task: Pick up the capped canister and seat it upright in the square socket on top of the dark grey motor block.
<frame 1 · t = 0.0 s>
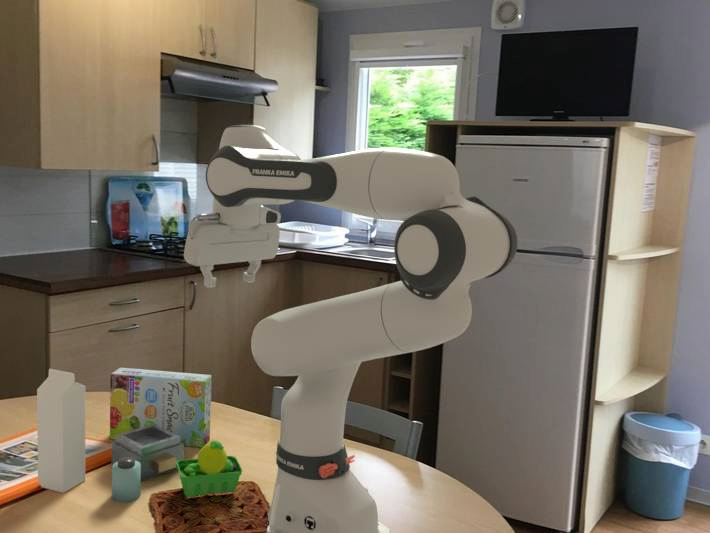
hand: (229, 284, 140), 39 cm above the table, tool pointing down, fingers open, 8 cm apart
capped canister: (126, 496, 137), on the table
milk: (61, 484, 140), on the table
fruit basket: (208, 493, 140), on the table
snack box: (160, 440, 163), on the table
motor block: (147, 466, 149), on the table
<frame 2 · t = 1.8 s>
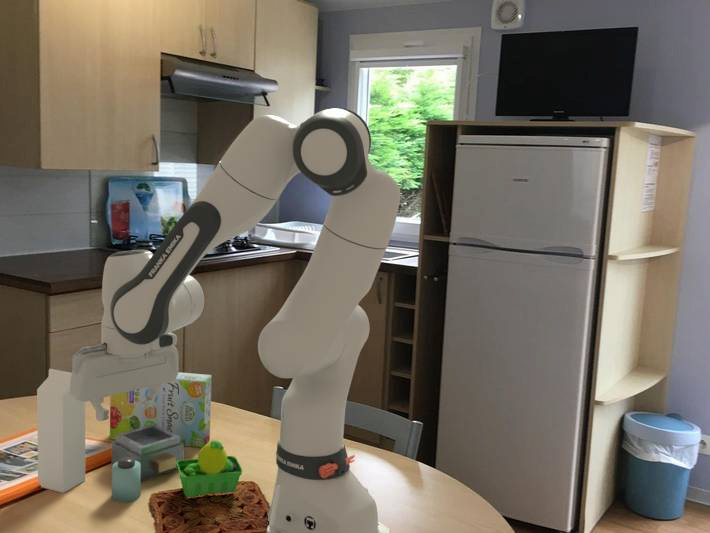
hand: (125, 413, 134), 16 cm above the table, tool pointing down, fingers open, 8 cm apart
nothing on the table moved.
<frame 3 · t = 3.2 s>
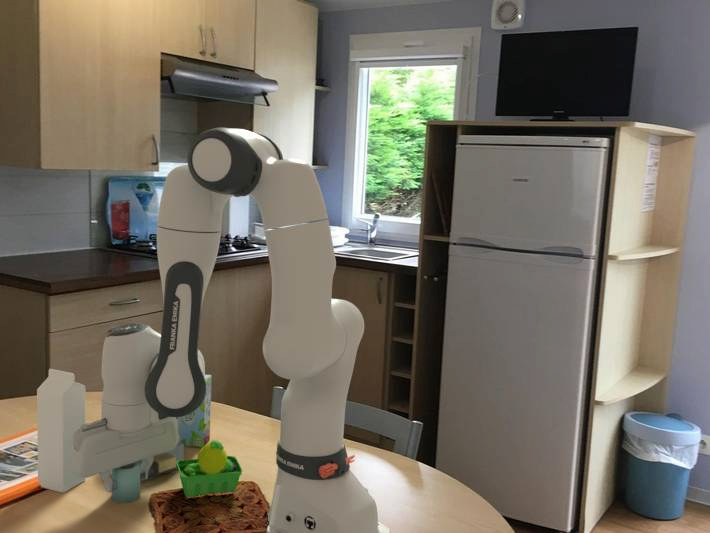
hand: (126, 484, 136), 2 cm above the table, tool pointing down, fingers closed on capped canister, 5 cm apart
capped canister: (126, 496, 137), on the table, touching gripper
everything else where it was.
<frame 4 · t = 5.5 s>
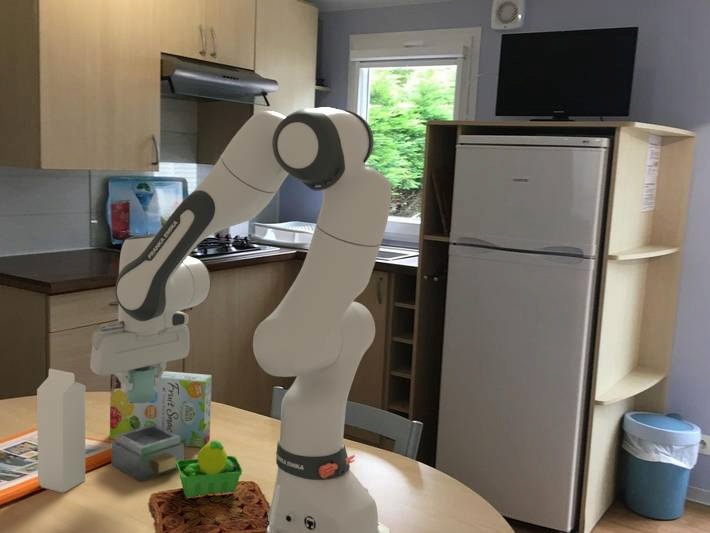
hand: (141, 388, 143), 18 cm above the table, tool pointing down, fingers closed on capped canister, 5 cm apart
capped canister: (140, 398, 144), point 15 cm above the table, touching gripper
everything else where it was.
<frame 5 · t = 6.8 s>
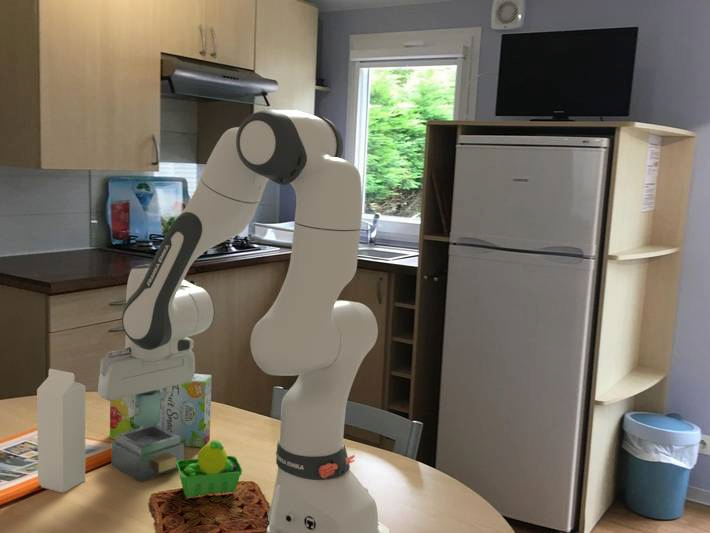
hand: (147, 411, 148), 12 cm above the table, tool pointing down, fingers closed on capped canister, 5 cm apart
capped canister: (147, 421, 148), point 9 cm above the table, touching gripper
everything else where it was.
when the fingers open (9 cm above the table, at t = 7.7 s): capped canister drops 1 cm, resting on motor block.
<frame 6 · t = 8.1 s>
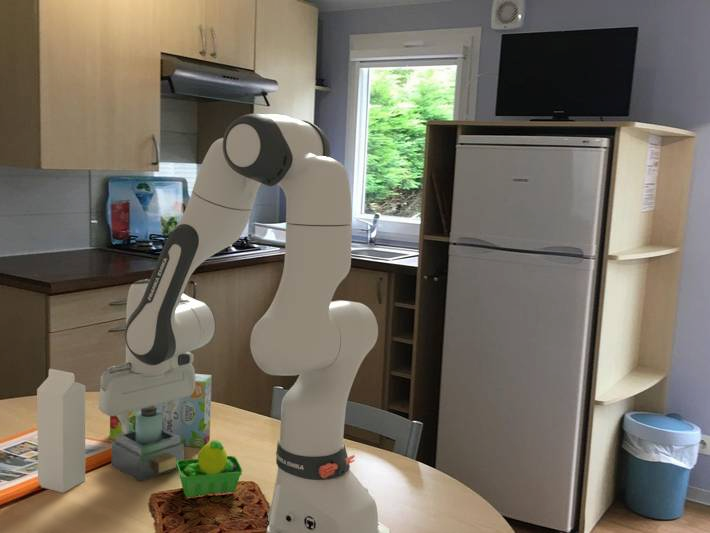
hand: (148, 426, 148), 9 cm above the table, tool pointing down, fingers open, 8 cm apart
capped canister: (148, 442, 149), point 5 cm above the table, touching motor block
everything else where it was.
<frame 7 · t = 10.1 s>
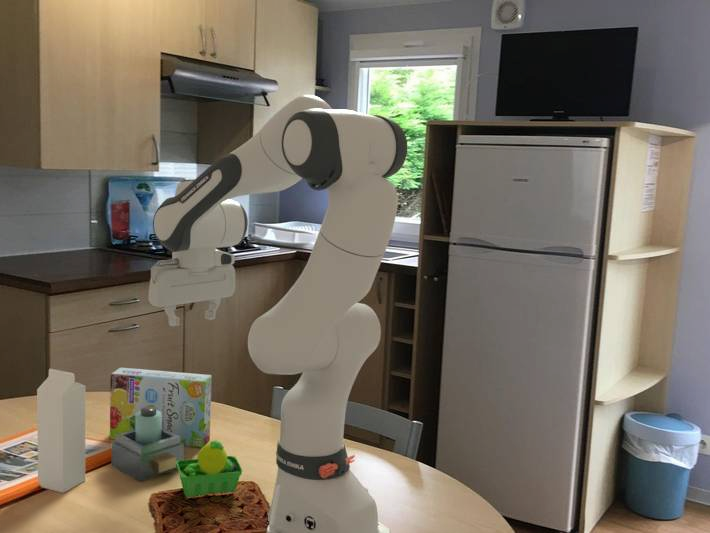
hand: (192, 322, 156), 28 cm above the table, tool pointing down, fingers open, 8 cm apart
nothing on the table moved.
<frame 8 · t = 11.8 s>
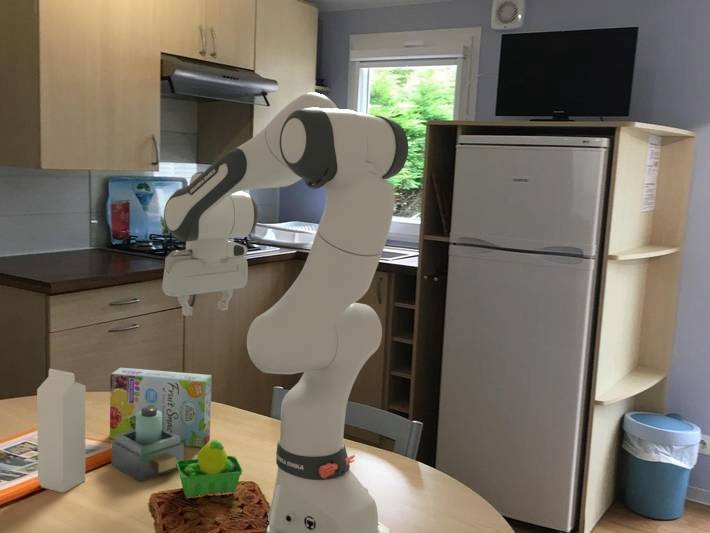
hand: (205, 312, 159), 29 cm above the table, tool pointing down, fingers open, 8 cm apart
nothing on the table moved.
at the end: capped canister 0.1 cm off-centre on the motor block, point 5.0 cm above the motor block's base; capped canister tilted 1°; the gripper is holding nothing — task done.
